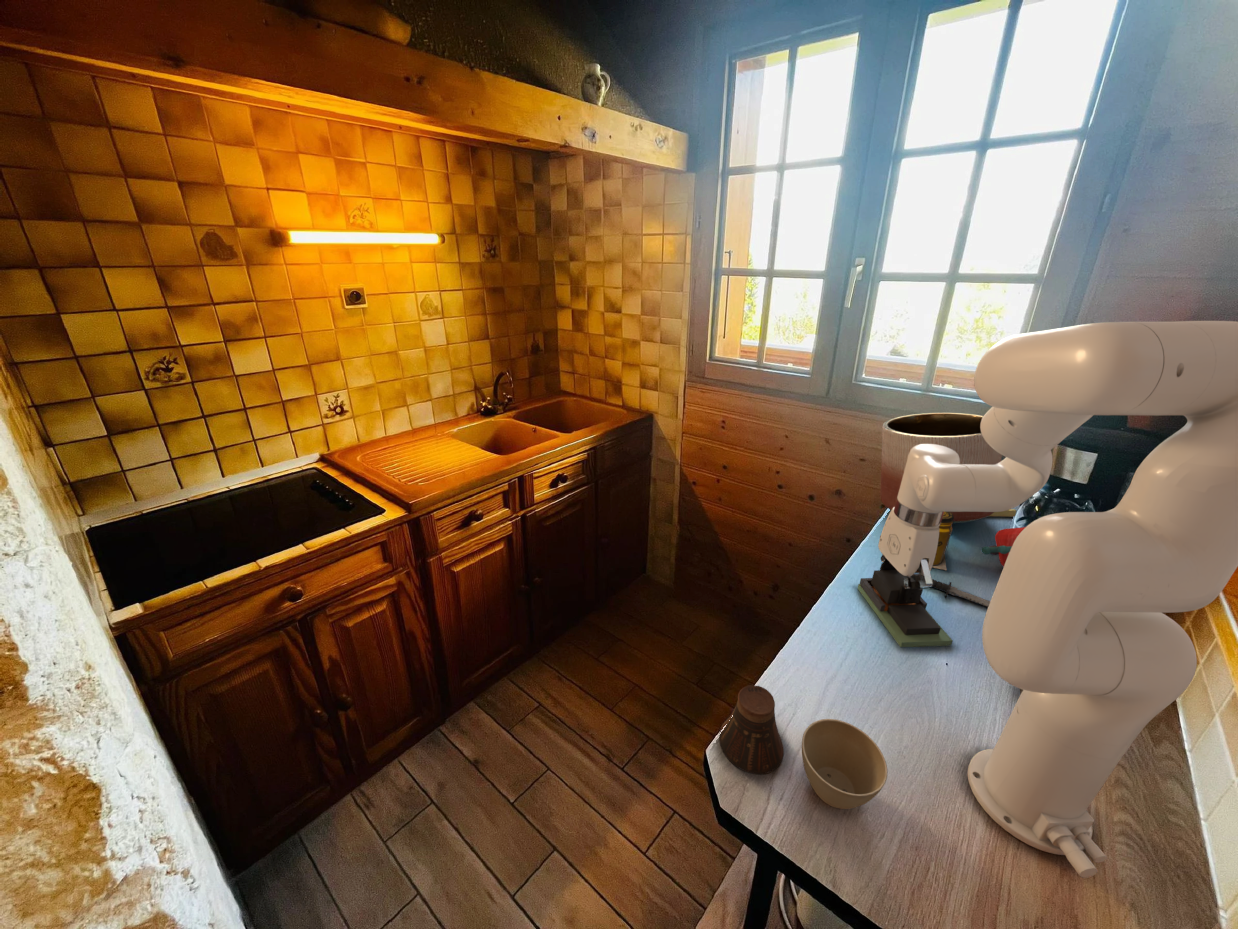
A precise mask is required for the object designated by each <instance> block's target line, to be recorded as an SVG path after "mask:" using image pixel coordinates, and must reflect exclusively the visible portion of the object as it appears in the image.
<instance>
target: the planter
mask: <svg viewBox="0 0 1238 929" xmlns="http://www.w3.org/2000/svg"><path fill="white" fill-rule="evenodd" d="M983 416H984V415H980V414H973V413H961V412H925V413H915V414H914V413H913V414H908V415H906V414H905V415H901V416H897V417H893V418H890V419H888V420H886V421H885V422H883V424H882V438H881V440H882V441H881V442H882V443H881V466H880V467H881V468H880V489H879V490H880V493H879V494H880V501H881V503H882V505H883V506H884V507H885V508H887V509H889V510H890V511H891V510H892V509H893V507H895V504H896V500H897V497H898V493H899V489H900V485H901V481H902V478H903V474H904V470H905V466H906V463H907V459H908V455H909V452H910V450H911V449H912V448H913V447H914V446H916V445H919V444H936V445H941V446H945V447H947V448H950V449H952V450H954V451H955V452H956V453H957V454H958V455H959V458H960V463H959V464H983V465H996V464H998V463H1000V462H1001V461H1002V457H1003V455H1001V454H1000V453H998V452H997V451H995V450H994V449H993V448H992V447H991V446H990V445H989V444H988V443H987V442H986V441H985V439H984V438H983V436H982V433H981V429H980V424H981V420H982V418H983ZM951 513H952V514H953V516H954V519H953V521H952V522H953V523H952V524H961V523H969V522H976V521H979V520H982V519H985V518H987V517H990V516H989V515H991V514H993V513H994V512H951Z"/></svg>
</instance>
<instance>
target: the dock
mask: <svg viewBox="0 0 1238 929" xmlns="http://www.w3.org/2000/svg"><path fill="white" fill-rule="evenodd" d="M871 581H872V577H861V578H860V581H859V583H858V584H857V590H858V592H859V593H860V595H862V597H863V598H864V599H865V601H866V602H867V604H868V605H869V606H870V608H871V609H872V610H873V612H874V613H875V614H876V616H877V617H878V620H880V621H881V623H882V624H883V626H884V627H885V628H886V630H887V631H888V632H889V634H890V636H892V639H894V640H895V642H896V643H897V645H898V646H899V648H919V647H920V648H921V647H923V648H924V647H948V646H949V647H951V646H952V644H953V639H952V638H951V637H950V635H948V634H947V632H946V630H944V628H942V626H941V625H940V624H939V623H938V622H937V621H936V620H935V619H934V617H933V616H932V615H931V614H930V613H929V612H928V610H927V607H928V603H927V602H926V601H925V599H924V598H923V597H922V596H921V598H920V601H919V603H913V604H887V603H886V602H885V600H884V599H883V598H882V597H881V595H880V594H879V593H878V592H877V590H876V589H875V588H874V586H873V585H872V584H871Z"/></svg>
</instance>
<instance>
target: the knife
mask: <svg viewBox="0 0 1238 929" xmlns="http://www.w3.org/2000/svg"><path fill="white" fill-rule="evenodd" d="M911 577H912V578H913V579H914V580H915V581H916V576H911ZM932 582H933V586H931V587H930V588H934V589H937V590H940V591H942V592H945V595H944V598H947V597H948V595H952V596H954V597H956V596H957V597H960V598H962V599H965V600H968V601H971V602H974V603H976V604H979V605H982V606H983V607H987V608H988V607H989V604H990V601H991V600H987V599H985V598H982V597H980V596H977V595H975V594H971V593H969V592H966V591H963V590H960V589H958V587H955V586H953V585H952V581H949V583H948V584H947V583H944V582H942V581H939V580H937V579H933V578H932Z"/></svg>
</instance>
